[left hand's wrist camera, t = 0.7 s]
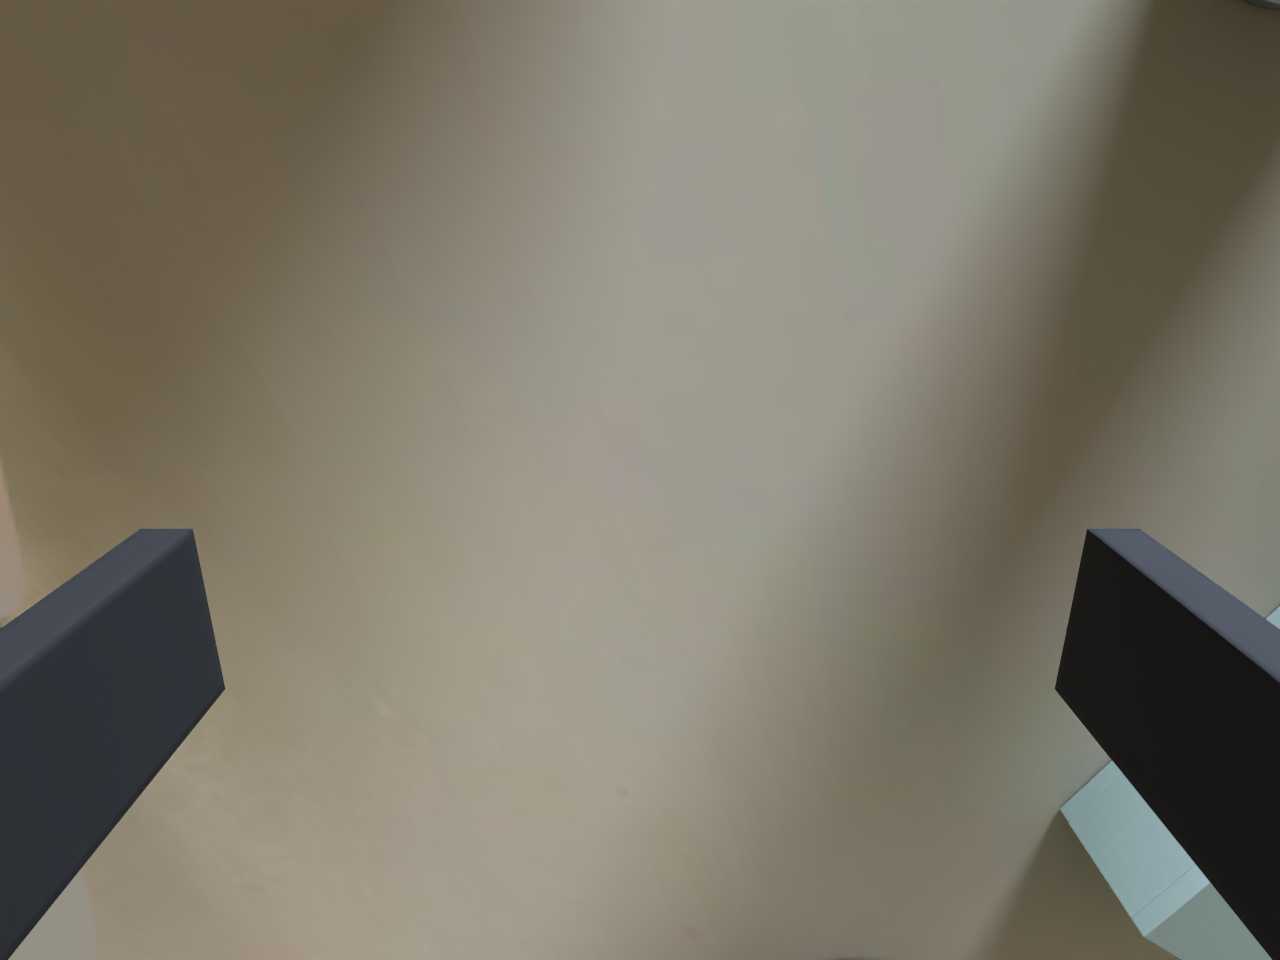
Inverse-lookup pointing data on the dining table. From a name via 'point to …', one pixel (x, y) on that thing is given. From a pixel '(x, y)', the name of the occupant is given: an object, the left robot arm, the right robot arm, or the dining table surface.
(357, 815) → the dining table surface
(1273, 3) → the right robot arm
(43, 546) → the dining table surface
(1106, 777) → the grey boxy piece
